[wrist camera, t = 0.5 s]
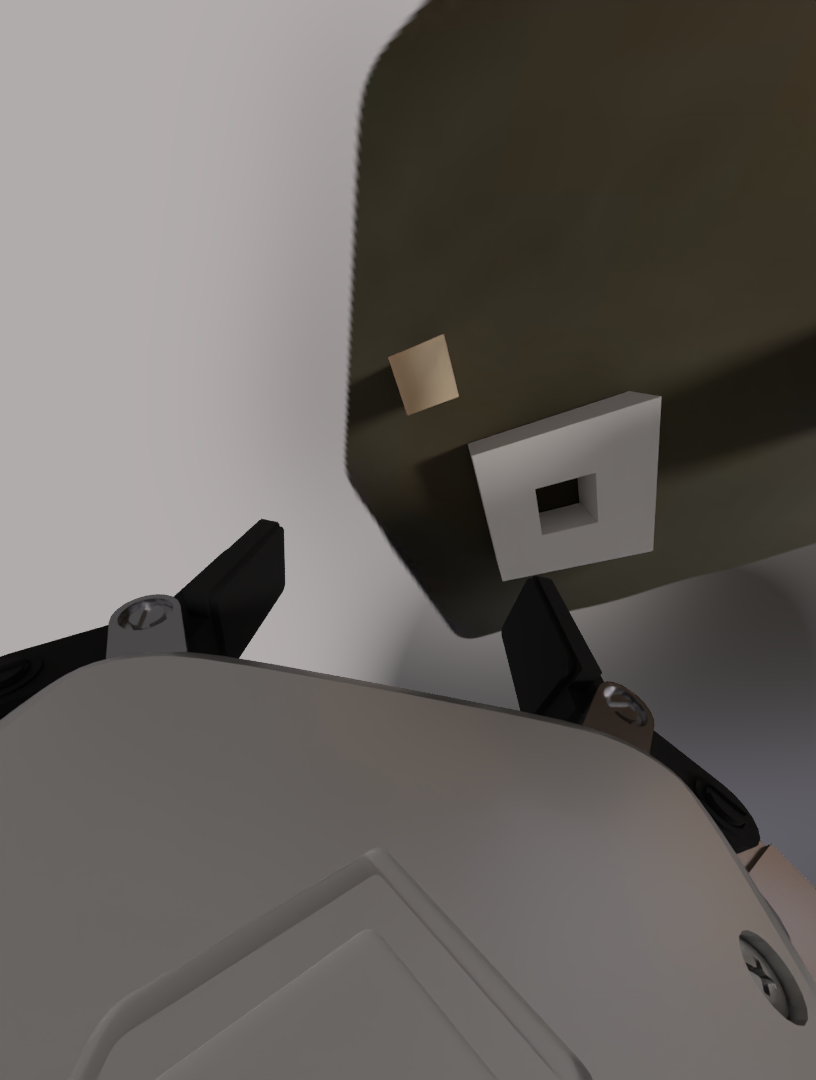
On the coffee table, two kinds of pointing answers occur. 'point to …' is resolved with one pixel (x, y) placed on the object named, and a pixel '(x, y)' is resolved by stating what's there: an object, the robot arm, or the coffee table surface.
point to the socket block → (603, 484)
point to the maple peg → (424, 375)
